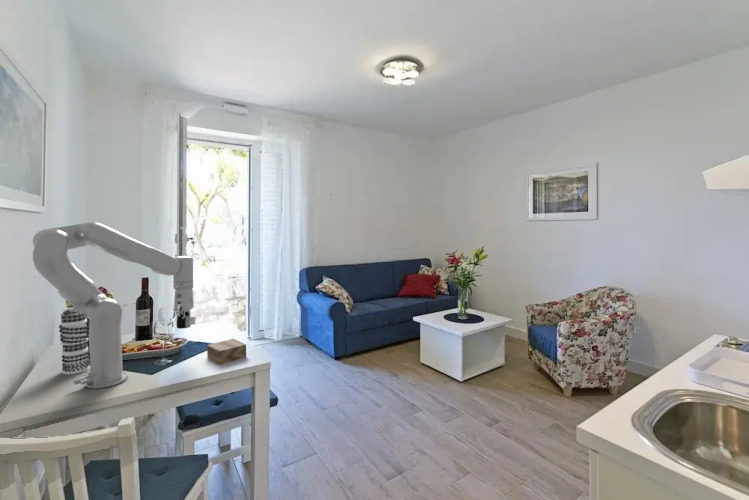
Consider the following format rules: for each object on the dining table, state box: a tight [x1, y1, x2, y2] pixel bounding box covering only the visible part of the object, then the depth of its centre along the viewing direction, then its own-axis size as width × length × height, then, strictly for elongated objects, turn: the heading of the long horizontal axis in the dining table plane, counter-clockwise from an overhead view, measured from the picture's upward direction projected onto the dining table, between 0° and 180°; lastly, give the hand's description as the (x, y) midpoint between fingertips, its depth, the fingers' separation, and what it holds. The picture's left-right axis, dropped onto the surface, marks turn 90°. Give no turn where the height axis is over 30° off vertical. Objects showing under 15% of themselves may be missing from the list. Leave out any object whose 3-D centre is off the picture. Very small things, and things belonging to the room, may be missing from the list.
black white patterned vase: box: [58, 307, 90, 375], centre depth 140 cm, size 9×9×25 cm
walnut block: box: [206, 338, 247, 365], centre depth 155 cm, size 12×12×6 cm
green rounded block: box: [178, 315, 192, 330], centre depth 150 cm, size 5×5×4 cm
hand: (183, 325), depth 151 cm, fingers closed on green rounded block, 5 cm apart
